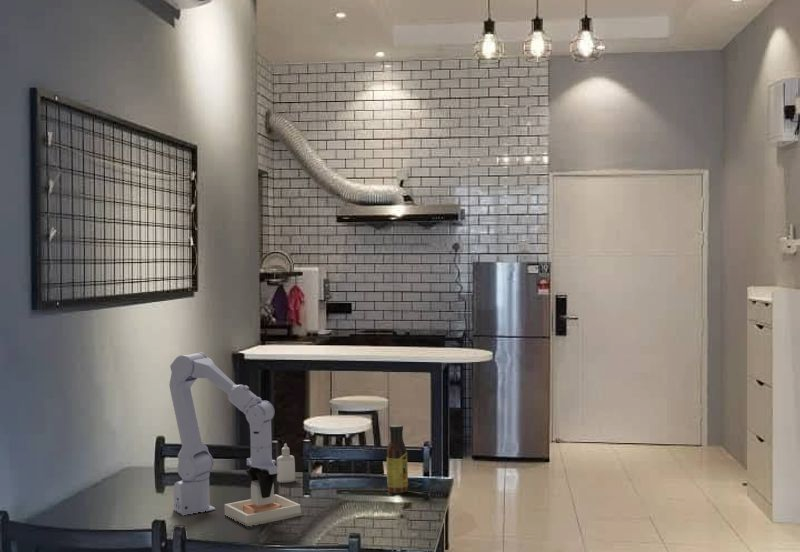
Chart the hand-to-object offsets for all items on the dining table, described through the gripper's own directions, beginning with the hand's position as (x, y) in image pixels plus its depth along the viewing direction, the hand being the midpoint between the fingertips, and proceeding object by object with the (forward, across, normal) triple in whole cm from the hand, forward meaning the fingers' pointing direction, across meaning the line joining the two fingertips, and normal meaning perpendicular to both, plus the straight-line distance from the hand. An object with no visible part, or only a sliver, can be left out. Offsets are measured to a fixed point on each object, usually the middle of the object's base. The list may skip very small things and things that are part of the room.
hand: (262, 495), depth 230 cm
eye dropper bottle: (+6, +29, -23) cm, 37 cm away
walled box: (+5, 0, 0) cm, 5 cm away
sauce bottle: (+6, -4, -43) cm, 44 cm away
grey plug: (+2, 0, 0) cm, 2 cm away
